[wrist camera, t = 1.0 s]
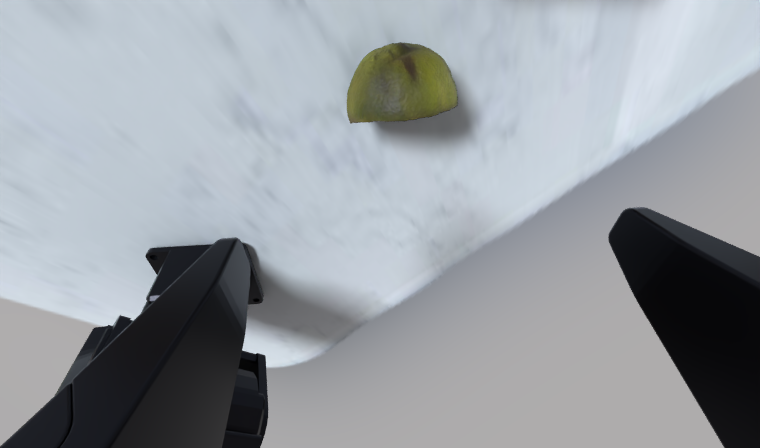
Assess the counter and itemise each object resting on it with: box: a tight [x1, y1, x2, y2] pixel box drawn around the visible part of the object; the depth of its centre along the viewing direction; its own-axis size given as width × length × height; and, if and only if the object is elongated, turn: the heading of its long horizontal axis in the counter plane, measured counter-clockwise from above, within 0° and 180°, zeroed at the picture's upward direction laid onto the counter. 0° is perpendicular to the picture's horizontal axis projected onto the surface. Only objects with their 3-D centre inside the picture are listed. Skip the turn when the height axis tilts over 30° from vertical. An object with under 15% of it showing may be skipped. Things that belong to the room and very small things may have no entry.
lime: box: [347, 42, 457, 123], centre depth 15 cm, size 4×5×5 cm
